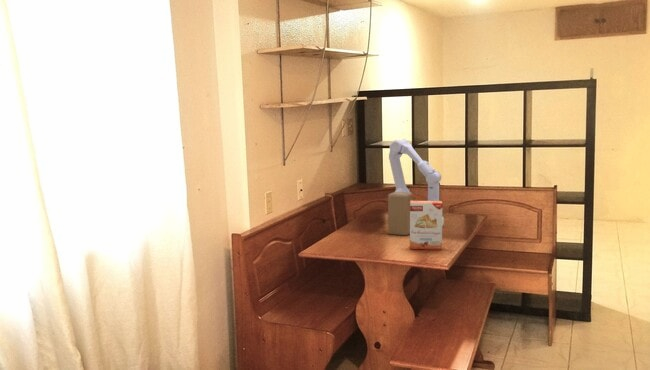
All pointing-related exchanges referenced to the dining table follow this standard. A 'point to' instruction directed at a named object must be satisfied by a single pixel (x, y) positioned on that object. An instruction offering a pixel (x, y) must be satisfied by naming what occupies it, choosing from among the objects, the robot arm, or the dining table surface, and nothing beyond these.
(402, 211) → the wooden block
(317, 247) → the dining table surface
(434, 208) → the cracker box
